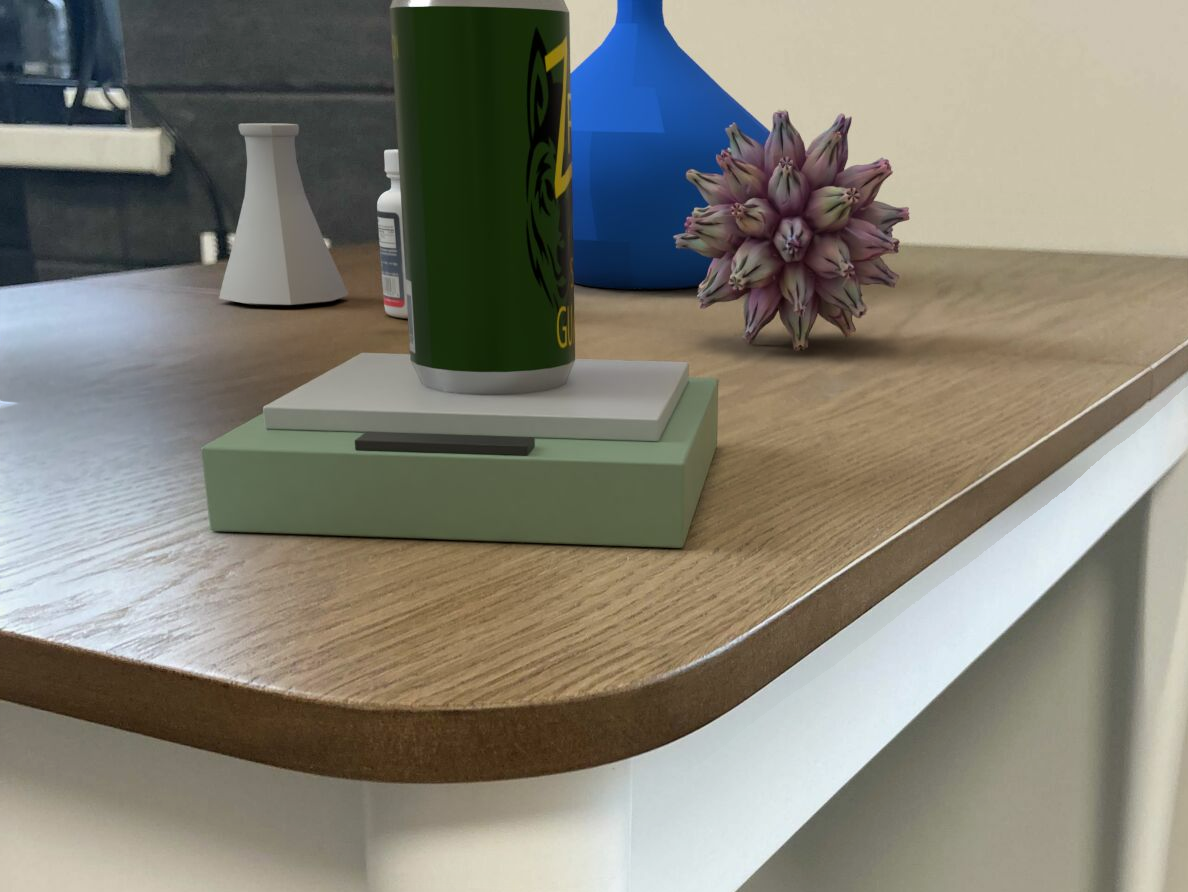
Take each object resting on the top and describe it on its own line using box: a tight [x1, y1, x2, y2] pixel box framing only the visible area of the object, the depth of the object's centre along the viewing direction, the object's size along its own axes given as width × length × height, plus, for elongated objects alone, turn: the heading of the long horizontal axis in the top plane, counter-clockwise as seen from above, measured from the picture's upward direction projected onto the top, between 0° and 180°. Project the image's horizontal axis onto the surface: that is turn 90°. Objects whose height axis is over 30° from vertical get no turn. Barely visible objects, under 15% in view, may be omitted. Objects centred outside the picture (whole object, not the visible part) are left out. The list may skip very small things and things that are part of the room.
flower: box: [674, 109, 911, 352], centre depth 77 cm, size 12×12×12 cm
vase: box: [570, 0, 771, 291], centre depth 101 cm, size 18×18×19 cm
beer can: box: [389, 0, 576, 394], centre depth 47 cm, size 5×5×12 cm
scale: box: [200, 352, 719, 549], centre depth 50 cm, size 14×14×3 cm
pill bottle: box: [376, 148, 408, 320], centre depth 86 cm, size 5×5×9 cm
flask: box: [218, 122, 349, 306], centre depth 90 cm, size 7×7×10 cm
